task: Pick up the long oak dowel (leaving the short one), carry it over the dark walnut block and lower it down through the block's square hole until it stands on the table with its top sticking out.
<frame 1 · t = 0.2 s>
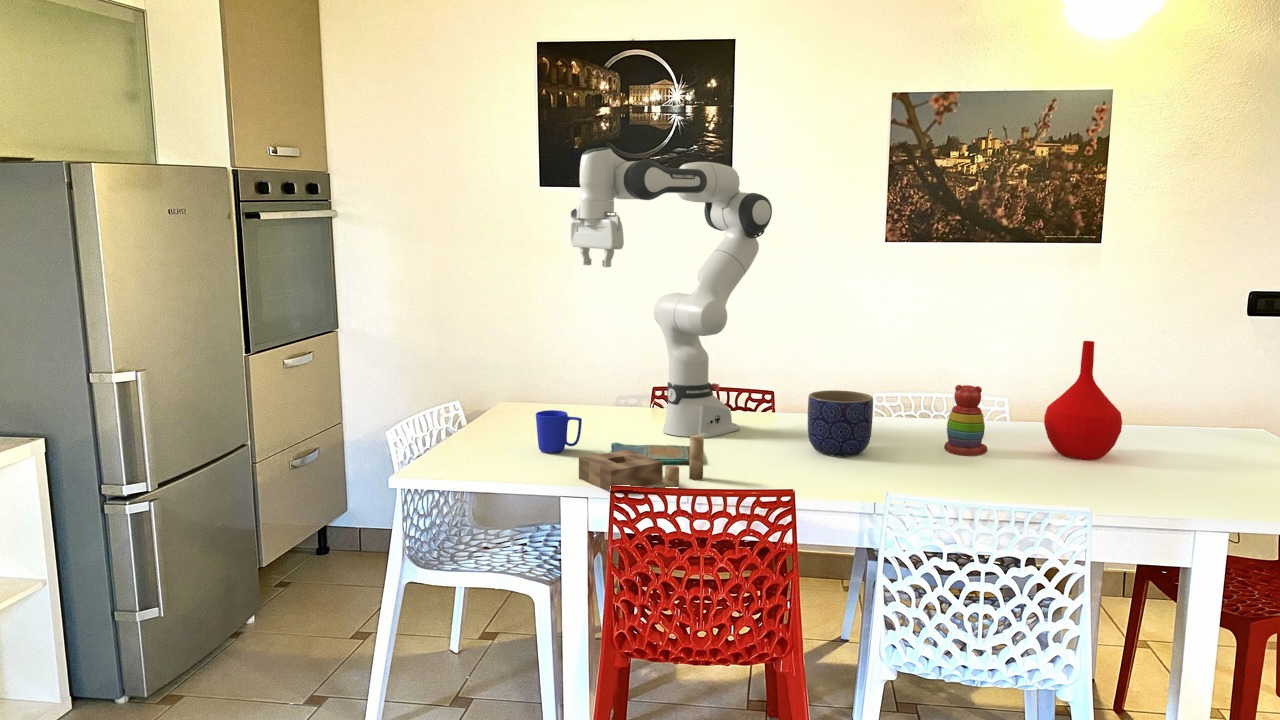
hand: (596, 266, 251), 48 cm above the table, fingers open, 8 cm apart
short dowel: (671, 489, 219), on the table
long dowel: (696, 478, 228), on the table
hole block: (620, 480, 225), on the table
vase: (1079, 456, 252), on the table
stacking bear: (964, 452, 255), on the table
dish towel: (655, 459, 248), on the table
mug: (559, 452, 253), on the table
planter: (838, 452, 254), on the table
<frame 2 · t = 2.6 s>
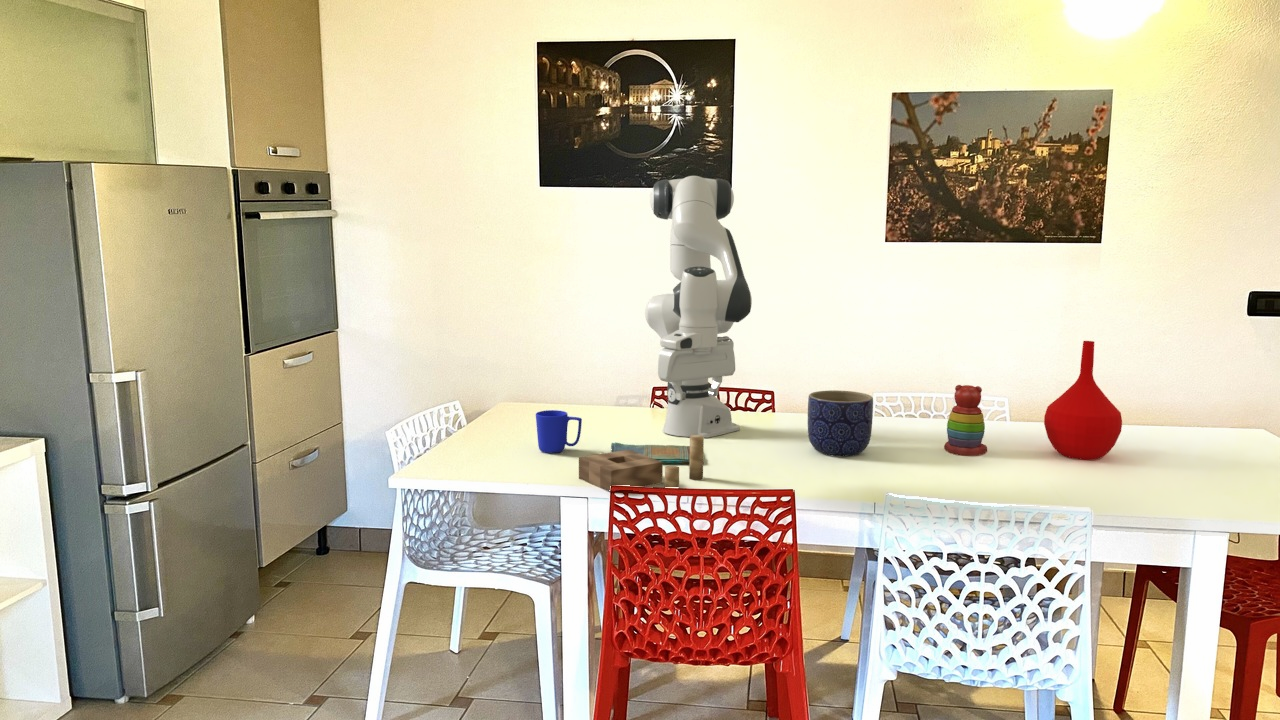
hand: (697, 397, 225), 19 cm above the table, fingers open, 8 cm apart
nothing on the table moved.
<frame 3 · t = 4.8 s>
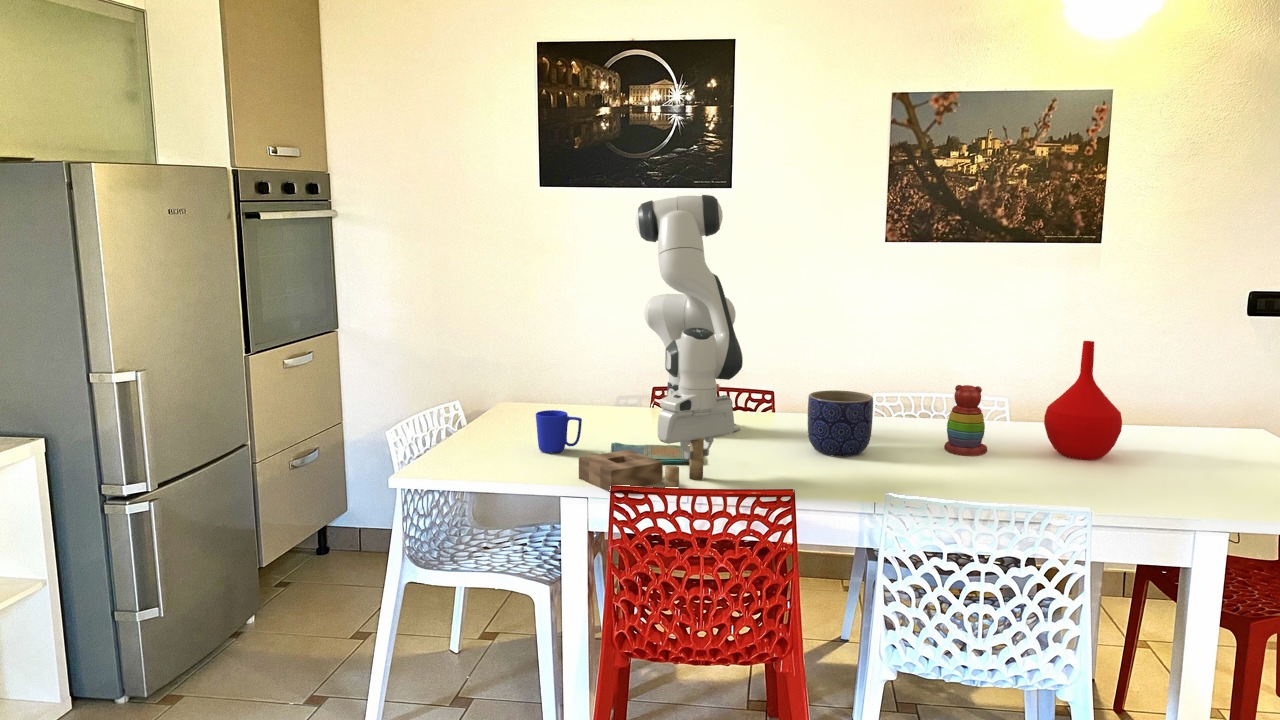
hand: (696, 457, 227), 5 cm above the table, fingers closed on long dowel, 3 cm apart
long dowel: (696, 478, 228), on the table, touching gripper
everything else where it was.
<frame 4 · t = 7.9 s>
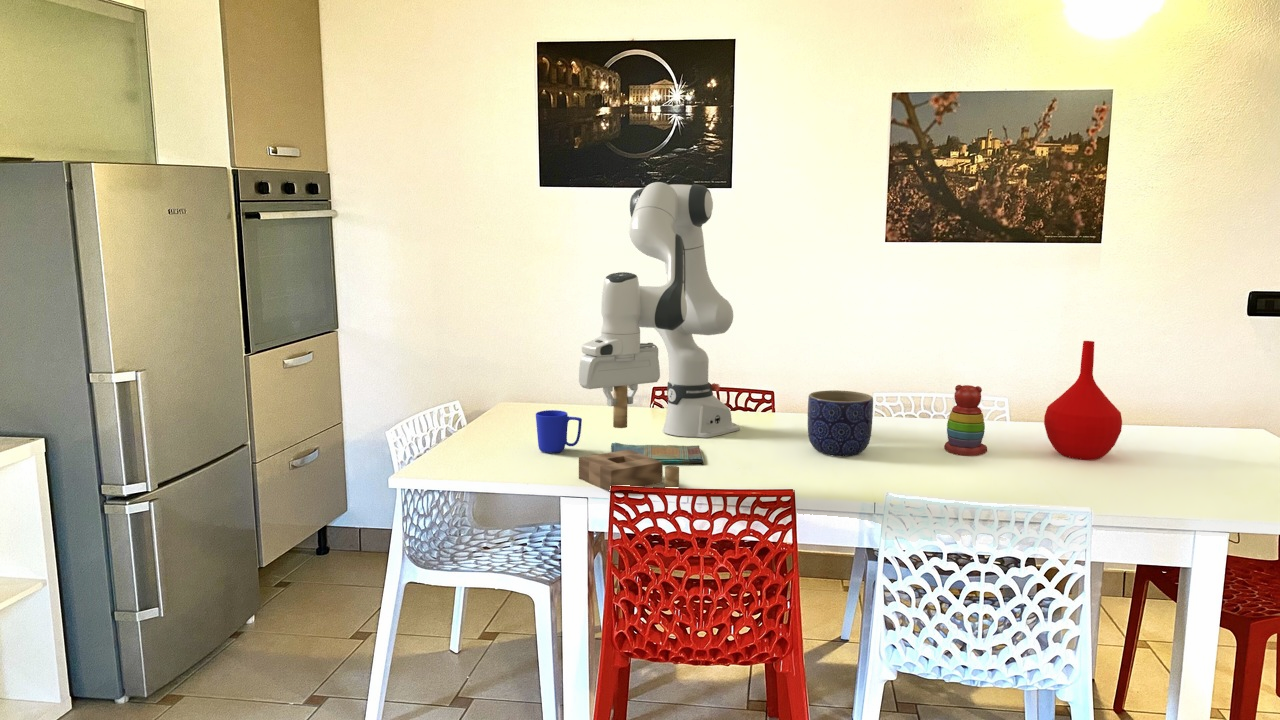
hand: (620, 404, 223), 18 cm above the table, fingers closed on long dowel, 3 cm apart
long dowel: (620, 426, 223), point 13 cm above the table, touching gripper
everything else where it was.
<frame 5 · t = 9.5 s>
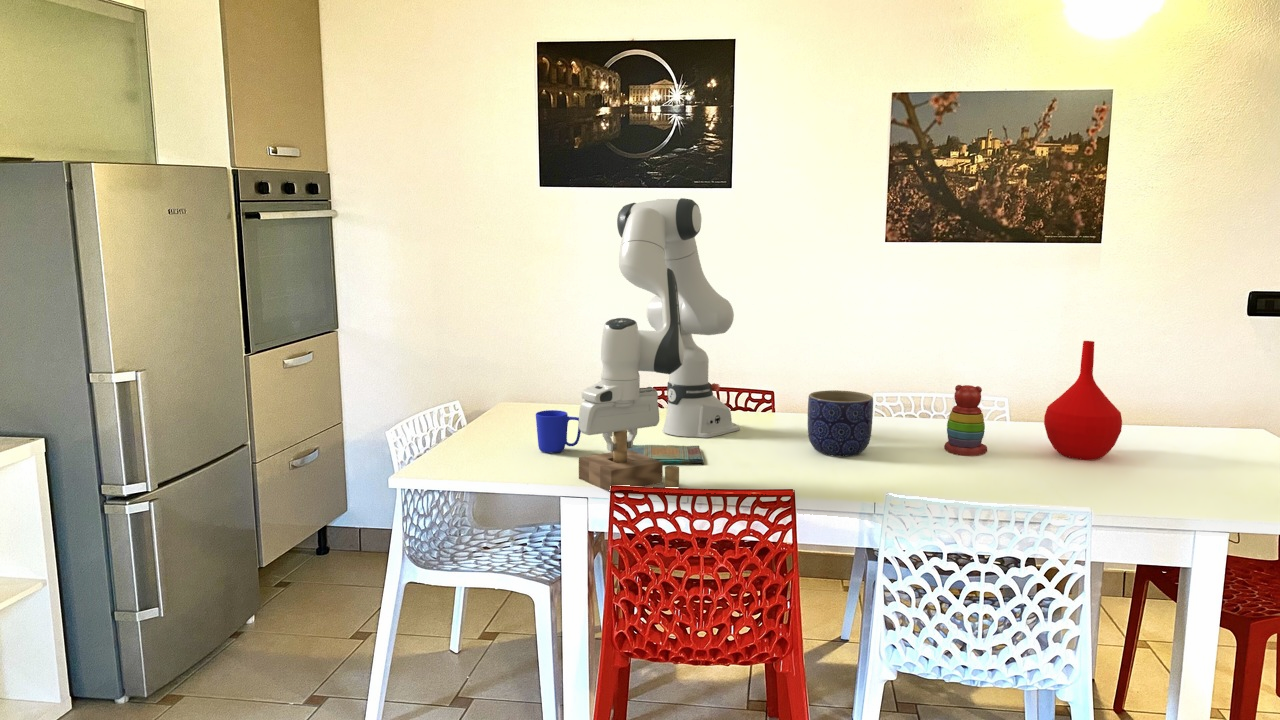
hand: (619, 449, 224), 7 cm above the table, fingers closed on long dowel, 3 cm apart
long dowel: (620, 470, 225), point 2 cm above the table, touching gripper
everything else where it was.
when the fingers open (6 cm above the table, at t = 10.7 s): long dowel stays where it is, resting in hole block.
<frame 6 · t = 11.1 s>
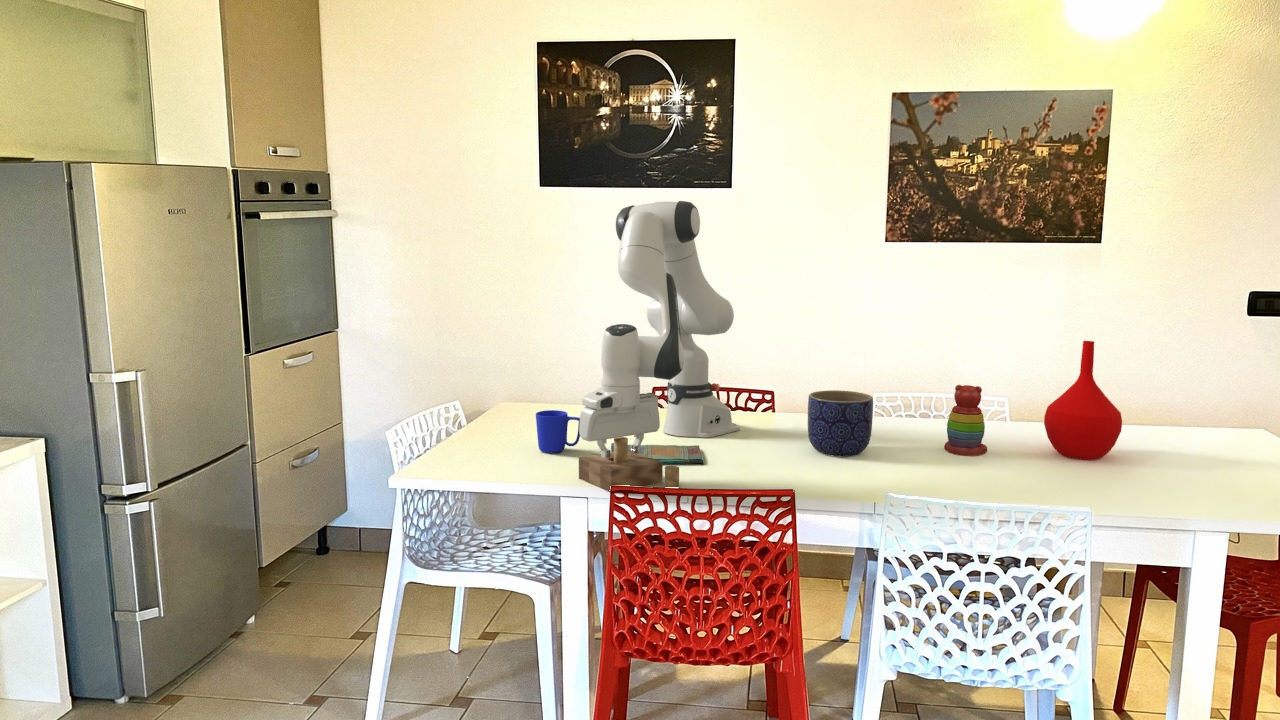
hand: (620, 455, 224), 6 cm above the table, fingers open, 7 cm apart
long dowel: (620, 480, 225), resting in hole block
everything else where it was.
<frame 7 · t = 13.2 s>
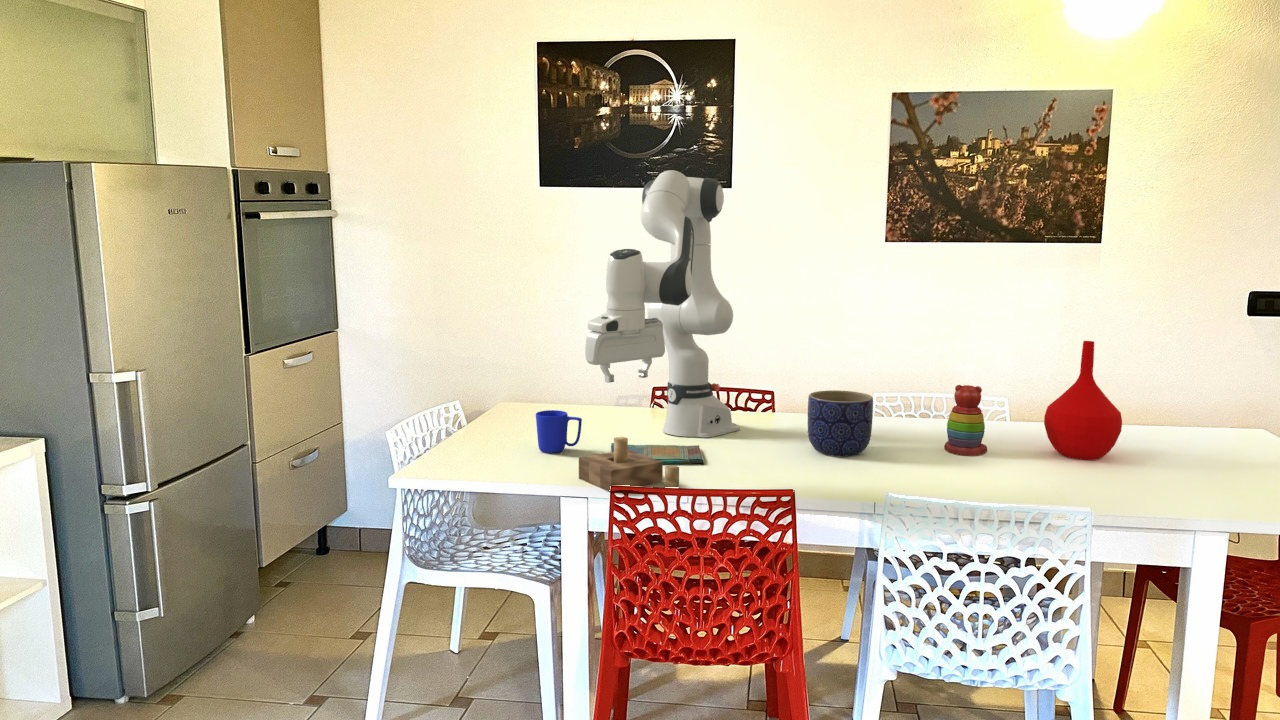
hand: (626, 379, 226), 23 cm above the table, fingers open, 8 cm apart
nothing on the table moved.
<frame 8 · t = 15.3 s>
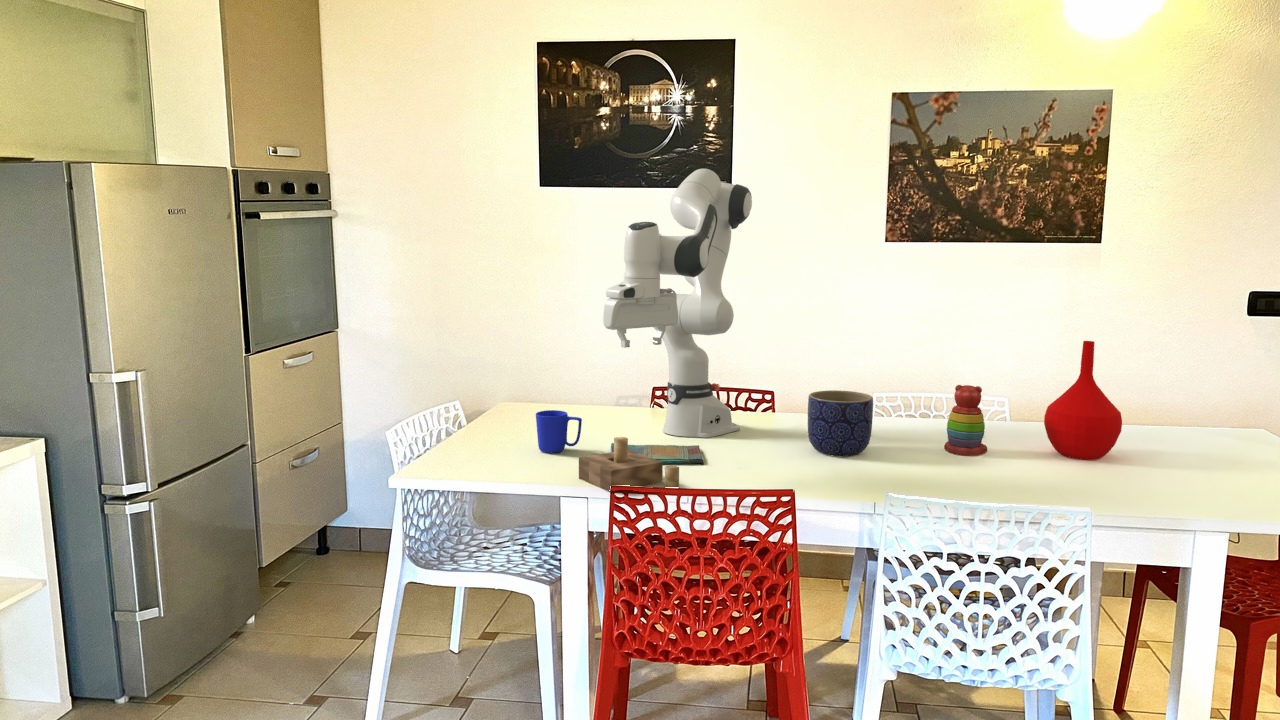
hand: (641, 345, 239), 29 cm above the table, fingers open, 8 cm apart
nothing on the table moved.
at the end: long dowel 0.1 cm off-centre on the hole block, point 0.0 cm above the hole block's base; long dowel tilted 0°; short dowel moved 0.0 cm from its start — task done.
